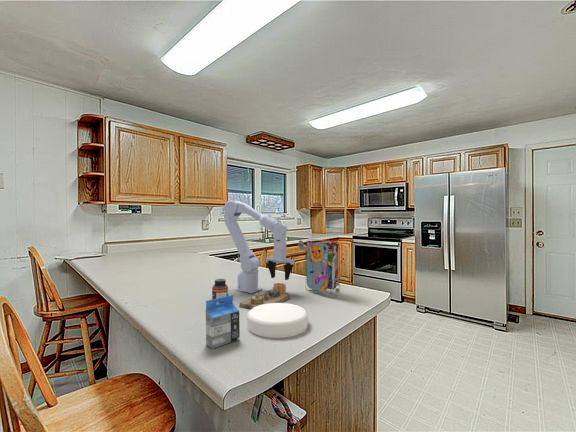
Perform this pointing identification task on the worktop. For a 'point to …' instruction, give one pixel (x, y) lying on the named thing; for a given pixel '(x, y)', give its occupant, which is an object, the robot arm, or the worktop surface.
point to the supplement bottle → (219, 290)
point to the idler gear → (280, 287)
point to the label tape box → (221, 322)
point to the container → (277, 320)
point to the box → (321, 265)
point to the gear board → (265, 298)
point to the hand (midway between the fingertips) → (279, 278)
